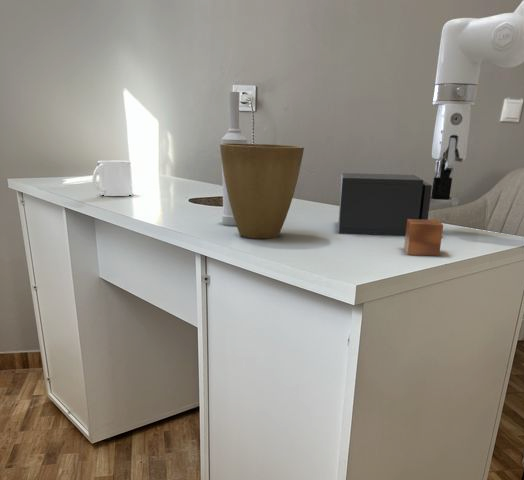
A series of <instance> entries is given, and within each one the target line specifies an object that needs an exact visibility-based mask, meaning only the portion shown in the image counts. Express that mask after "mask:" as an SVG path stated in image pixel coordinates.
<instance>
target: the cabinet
mask: <svg viewBox="0 0 524 480" xmlns="http://www.w3.org/2000/svg"><path fill="white" fill-rule="evenodd" d="M340 179H341V180H340V192H339V193H340V195H339V207H338V208H339V209H338V223H337V224H338V234H347V235H348V234H349V235H350V234H351V235H375V236H377V235H378V236H403V237H404V236H405V235H406V226H407V219H419V213H420V205H421V196H422V188H423V181H424V179H422V178H420V177H419V176H417V175H415V174H393V173H391V174H390V173H359V172H356V173H355V172H354V173H353V172H342V173H341V178H340Z"/></svg>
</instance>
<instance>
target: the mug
mask: <svg viewBox="0 0 524 480" xmlns="http://www.w3.org/2000/svg"><path fill="white" fill-rule="evenodd" d="M97 177H98V181H99V185H98V184H97ZM132 177H133V176H132V165H131V161H130V160H119V159H117V160H116V159H115V160H114V159H113V160H111V159H110V160H97V165H96V167H95V168H94V170H93V173H92V179H91V180H92V181H91V182H92V186H93V188H95V190H96V191H97V192H98V193H100V196H102V195H104V196H103V197H106V196H125V197H130V196H129V195H131V196H133V194H134V193H133V191H134V190H133V179H132ZM102 192H103V193H102Z"/></svg>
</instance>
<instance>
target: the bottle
mask: <svg viewBox="0 0 524 480" xmlns="http://www.w3.org/2000/svg"><path fill="white" fill-rule="evenodd" d="M220 143H237V144H248V138H246V137H245V136H244V134H243V133H242V130H241V129H240V91H229V92H228V129H227V133H226V134H225V135H223V137H221V140H220ZM221 179H222V180H221V181H222V183H221V185H222V214H221V221H222V224H223V226H229V227H230V226H231V227H237V225H236V222H235V219H234V216H233V213H232V209H231V205H230V202H229V198H228V193H227V188H226V184H225V178H224V173H223V166H222V165H221Z"/></svg>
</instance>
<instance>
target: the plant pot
mask: <svg viewBox="0 0 524 480" xmlns="http://www.w3.org/2000/svg"><path fill="white" fill-rule="evenodd" d="M219 149H220V150H219V151H220V157H221V167H222V166H223V173H224V178H225V184H226V188H227V193H228V198H229V202H230V205H231V209H232V213H233V216H234V219H235V222H236V225H237V226H236V229H237V231H238V234H239V235H240V236H242V237H245V238H250V239H274V238H277V237H279V236H280V233H281V231H282V229H283V226H284V224H285V221H286V218H287V216H288V213H289V210H290V208H291V204H292V200H293V198H294V195H295V191H296V187H297V184H298V180H299V176H300V171H301V166H302V161H303V156H304V152H305V151H304V150H305V146H301V145H291V144H290V145H289V144H271V143H270V144H267V143H247V144H237V143H221V142H220V143H219Z"/></svg>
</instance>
